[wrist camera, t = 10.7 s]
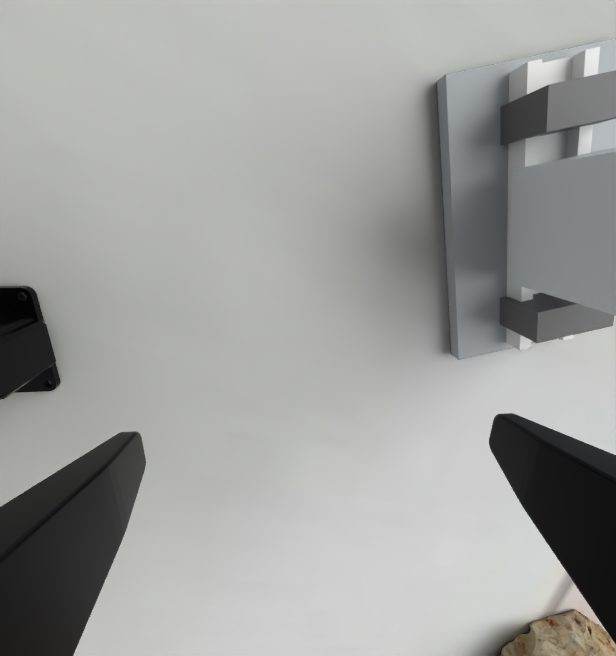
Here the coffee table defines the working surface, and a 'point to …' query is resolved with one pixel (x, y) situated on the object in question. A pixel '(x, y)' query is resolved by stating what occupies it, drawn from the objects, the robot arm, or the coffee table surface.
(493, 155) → the rail
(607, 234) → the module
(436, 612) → the coffee table surface
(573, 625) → the rock
